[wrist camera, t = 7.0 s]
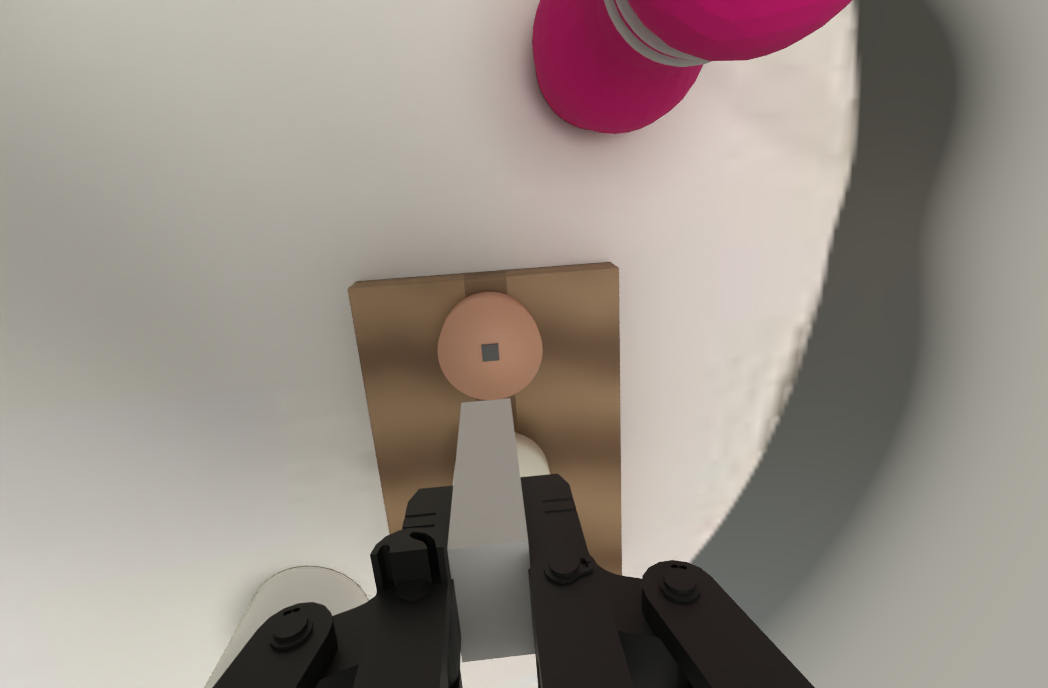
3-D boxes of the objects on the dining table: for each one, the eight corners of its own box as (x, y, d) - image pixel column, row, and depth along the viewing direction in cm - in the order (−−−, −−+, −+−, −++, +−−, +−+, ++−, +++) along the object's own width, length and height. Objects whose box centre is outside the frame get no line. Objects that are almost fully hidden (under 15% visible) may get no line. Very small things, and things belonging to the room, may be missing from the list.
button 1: (439, 287, 28) (431, 305, 24) (531, 280, 28) (540, 297, 24) (449, 374, 29) (443, 406, 25) (537, 366, 30) (545, 397, 25)
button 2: (451, 417, 29) (445, 457, 24) (541, 408, 29) (551, 447, 25) (460, 495, 30) (456, 545, 26) (546, 486, 30) (556, 535, 26)
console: (357, 281, 28) (347, 288, 26) (610, 262, 29) (618, 267, 27) (406, 579, 34) (401, 602, 32) (614, 557, 35) (621, 579, 33)
